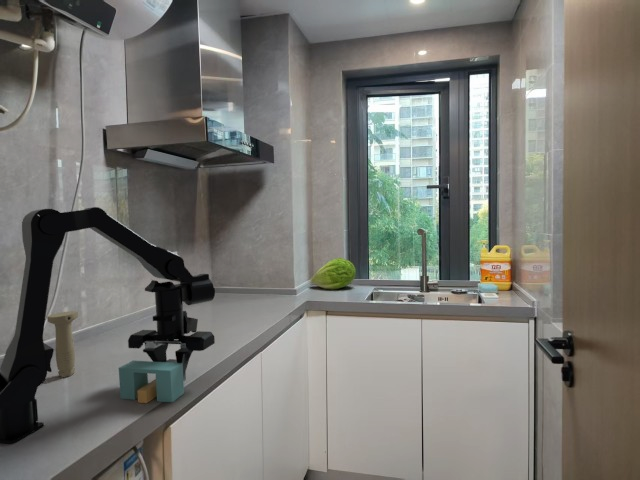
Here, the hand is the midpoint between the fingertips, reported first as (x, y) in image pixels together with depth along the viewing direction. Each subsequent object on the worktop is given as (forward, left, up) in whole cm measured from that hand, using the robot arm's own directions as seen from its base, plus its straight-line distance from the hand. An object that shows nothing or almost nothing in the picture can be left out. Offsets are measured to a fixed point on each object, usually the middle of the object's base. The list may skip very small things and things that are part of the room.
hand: (173, 377), depth 97 cm
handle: (0, +29, -1) cm, 29 cm away
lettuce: (+127, -11, -1) cm, 128 cm away
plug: (-4, 0, -1) cm, 4 cm away
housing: (-8, 0, -1) cm, 8 cm away
